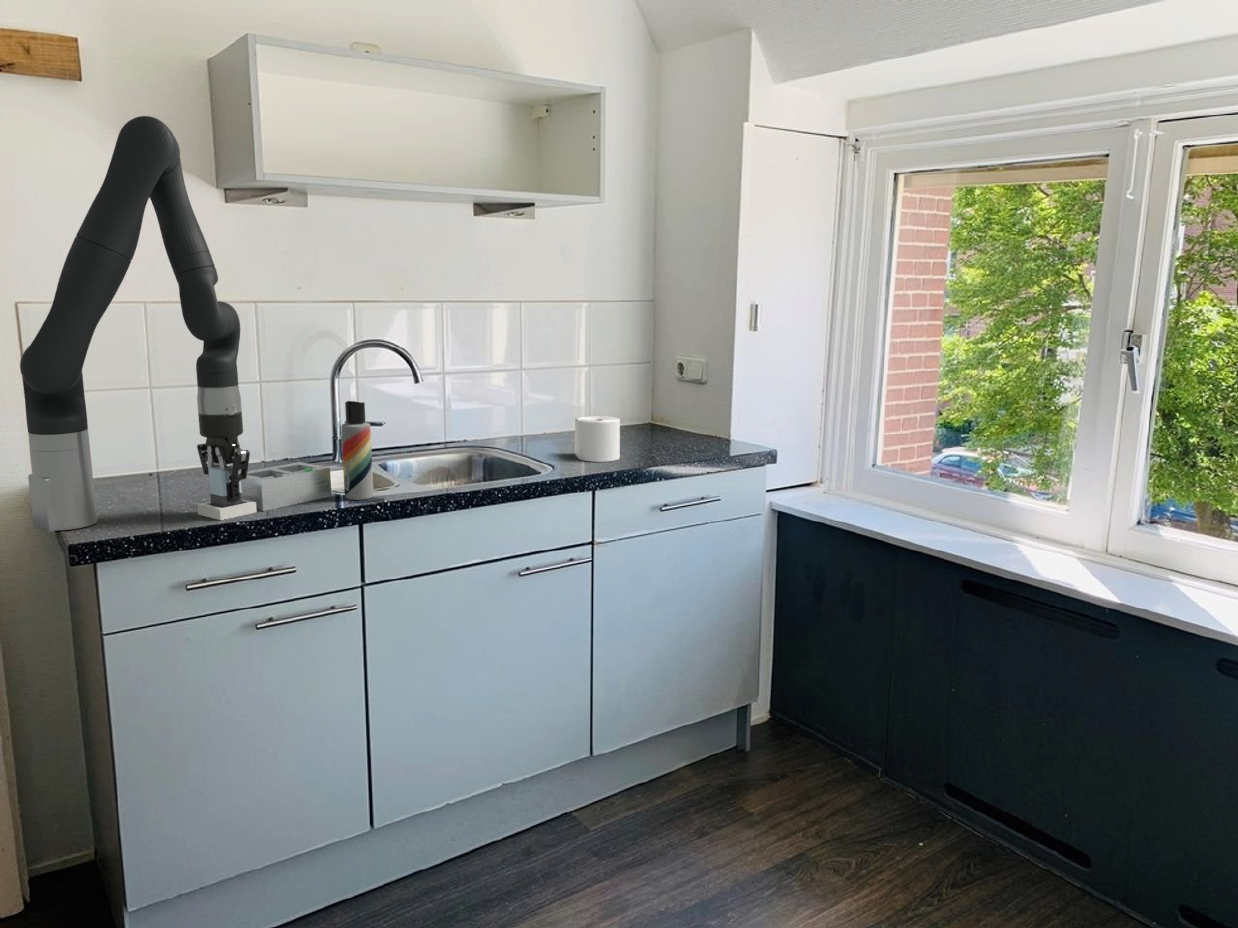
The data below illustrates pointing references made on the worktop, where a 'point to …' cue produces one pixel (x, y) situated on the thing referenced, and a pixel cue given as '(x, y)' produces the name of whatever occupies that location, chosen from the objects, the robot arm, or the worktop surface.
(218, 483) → the light blue block
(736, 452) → the worktop surface
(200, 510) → the white open box
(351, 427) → the lotion bottle
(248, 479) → the two-compartment grey tray
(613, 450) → the toilet tissue
